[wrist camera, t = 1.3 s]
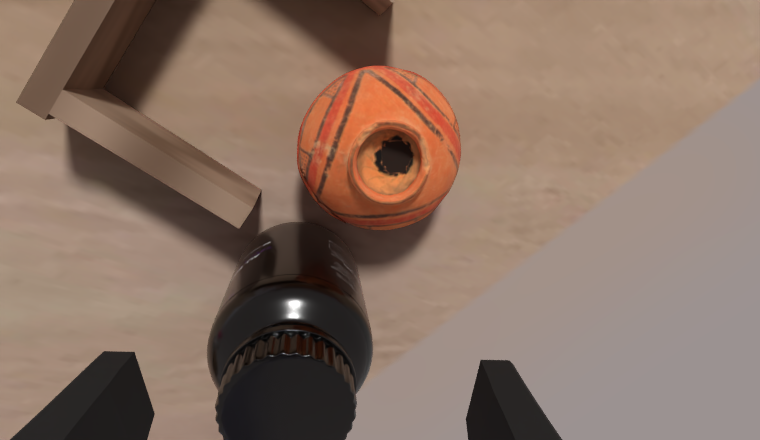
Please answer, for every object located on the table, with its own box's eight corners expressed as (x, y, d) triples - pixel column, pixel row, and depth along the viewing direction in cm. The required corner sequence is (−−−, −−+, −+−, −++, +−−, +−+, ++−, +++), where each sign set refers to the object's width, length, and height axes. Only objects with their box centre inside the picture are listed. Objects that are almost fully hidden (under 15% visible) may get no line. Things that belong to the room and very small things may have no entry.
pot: (440, 49, 25) (490, 79, 19) (434, 184, 29) (474, 243, 23) (286, 57, 24) (289, 92, 18) (301, 197, 28) (308, 263, 22)
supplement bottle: (233, 218, 26) (174, 323, 15) (358, 218, 27) (392, 316, 16) (239, 331, 28) (190, 502, 17) (355, 327, 29) (384, 486, 18)
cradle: (397, -10, 24) (413, -28, 20) (246, 211, 26) (235, 233, 22) (217, -162, 21) (196, -215, 18) (64, 99, 23) (16, 102, 20)
